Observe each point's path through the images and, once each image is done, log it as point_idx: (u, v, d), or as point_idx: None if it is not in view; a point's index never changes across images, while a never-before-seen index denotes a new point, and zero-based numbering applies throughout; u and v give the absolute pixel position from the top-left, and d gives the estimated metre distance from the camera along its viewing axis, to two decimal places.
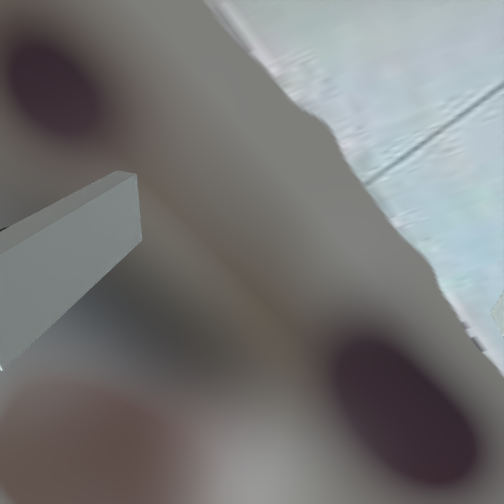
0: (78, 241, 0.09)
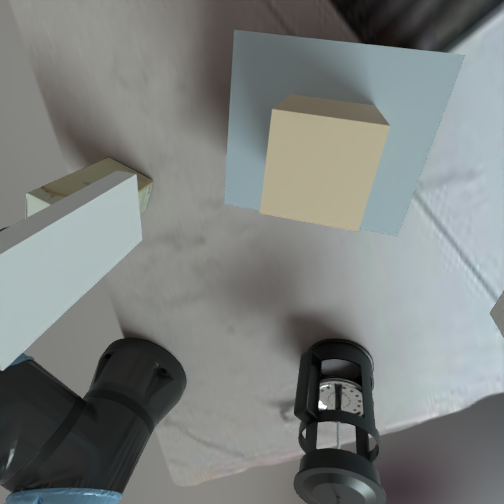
0: (78, 241, 0.09)
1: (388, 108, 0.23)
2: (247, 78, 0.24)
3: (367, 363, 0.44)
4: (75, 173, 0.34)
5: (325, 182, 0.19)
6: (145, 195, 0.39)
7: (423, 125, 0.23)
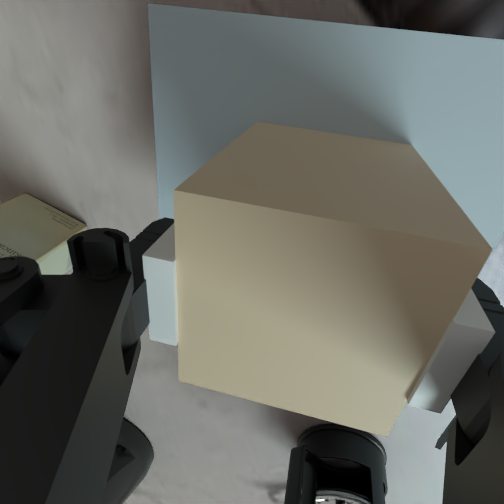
0: None
1: (436, 150, 0.12)
2: (179, 93, 0.14)
3: (379, 461, 0.33)
4: None
5: (314, 348, 0.08)
6: None
7: (501, 182, 0.13)
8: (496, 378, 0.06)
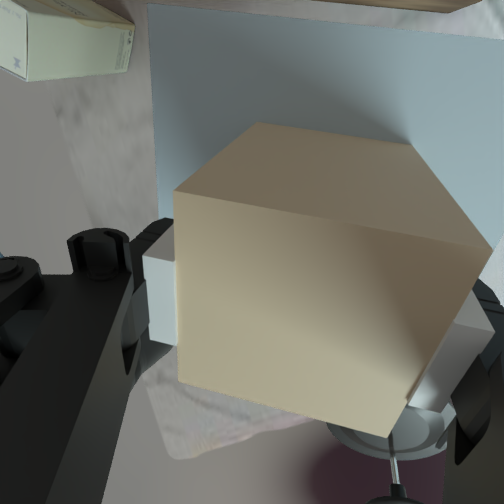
0: None
1: (436, 151, 0.12)
2: (179, 93, 0.14)
3: None
4: None
5: (314, 349, 0.08)
6: (124, 41, 0.29)
7: (501, 182, 0.13)
8: (496, 378, 0.06)
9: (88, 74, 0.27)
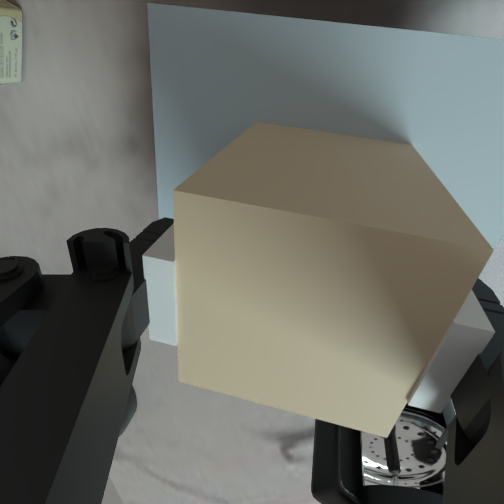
0: None
1: (436, 150, 0.12)
2: (179, 93, 0.14)
3: None
4: None
5: (314, 349, 0.08)
6: (2, 35, 0.19)
7: (501, 182, 0.13)
8: (496, 378, 0.06)
9: None
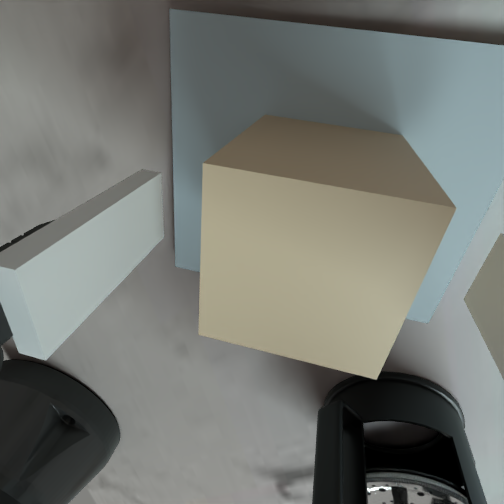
0: (111, 237, 0.10)
1: (424, 140, 0.14)
2: (196, 88, 0.15)
3: (460, 428, 0.20)
4: None
5: (315, 299, 0.10)
6: None
7: (481, 168, 0.14)
8: None
9: None
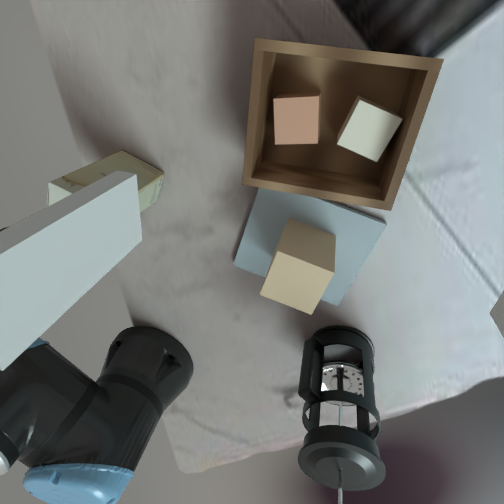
0: (78, 241, 0.09)
1: (342, 239, 0.40)
2: (264, 203, 0.40)
3: (368, 348, 0.46)
4: (92, 164, 0.36)
5: (298, 289, 0.35)
6: (156, 186, 0.41)
7: (360, 252, 0.40)
8: None
9: None
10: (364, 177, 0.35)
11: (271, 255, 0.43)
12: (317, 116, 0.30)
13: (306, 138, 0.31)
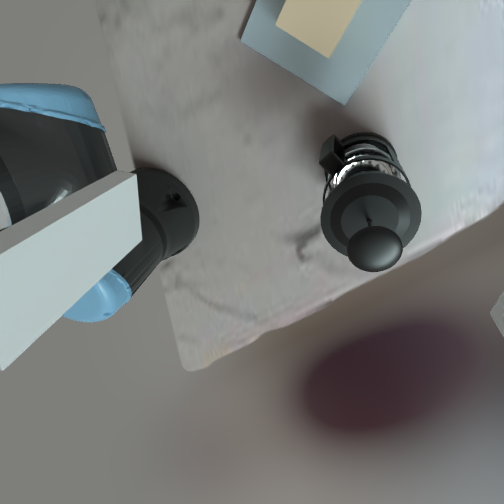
0: (78, 241, 0.09)
1: (369, 5, 0.36)
2: None
3: (392, 151, 0.42)
4: None
5: (321, 15, 0.31)
6: None
7: (384, 26, 0.37)
8: None
9: None
10: None
11: None
12: None
13: None
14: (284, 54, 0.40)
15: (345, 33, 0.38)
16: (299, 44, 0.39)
